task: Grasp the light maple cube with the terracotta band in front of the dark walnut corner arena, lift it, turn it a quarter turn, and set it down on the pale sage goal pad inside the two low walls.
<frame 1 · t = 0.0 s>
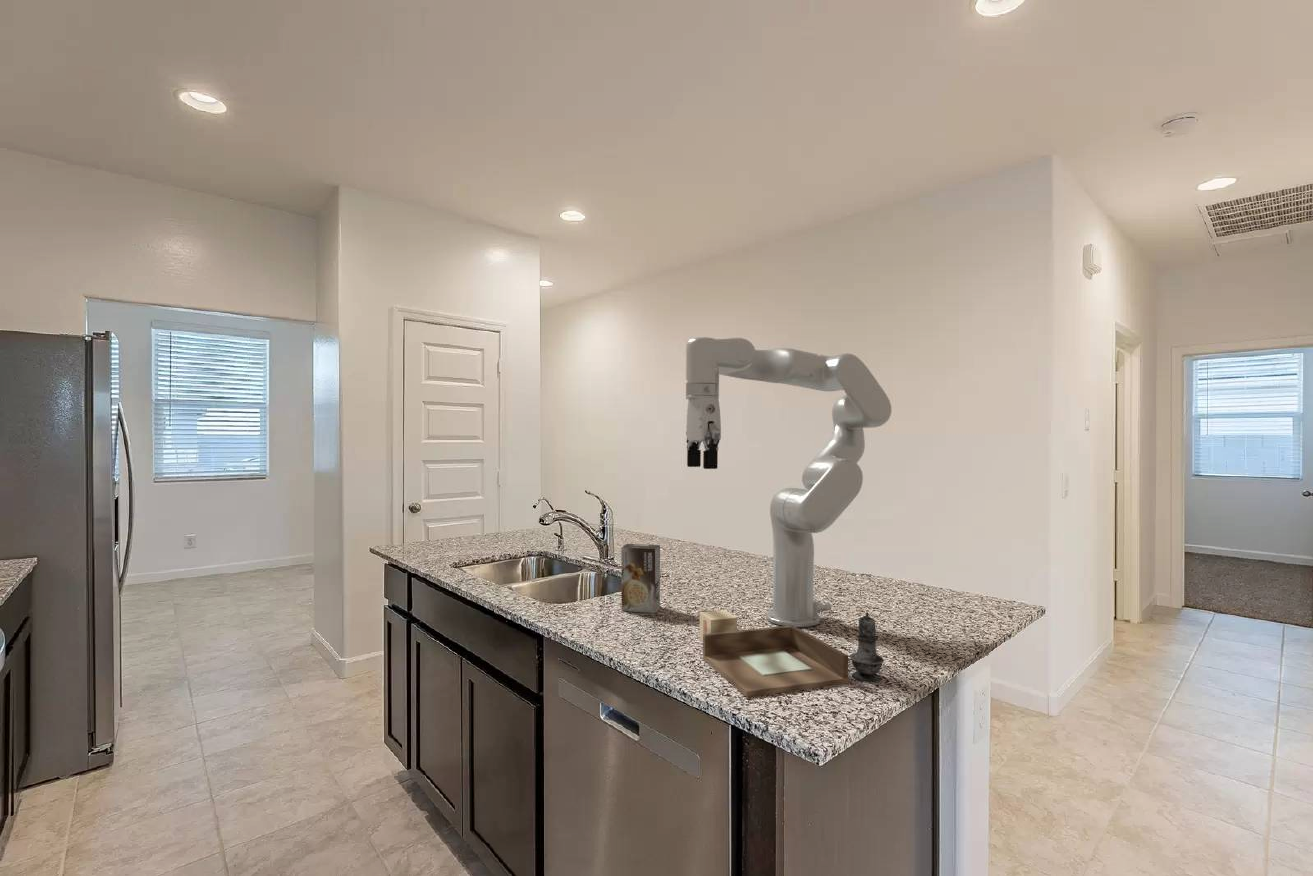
hand: (701, 467, 143), 37 cm above the worktop, tool pointing down, fingers open, 9 cm apart
maple cube: (717, 643, 134), on the worktop
arena: (771, 671, 118), on the worktop
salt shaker: (866, 678, 115), on the worktop
coffee box: (640, 609, 160), on the worktop
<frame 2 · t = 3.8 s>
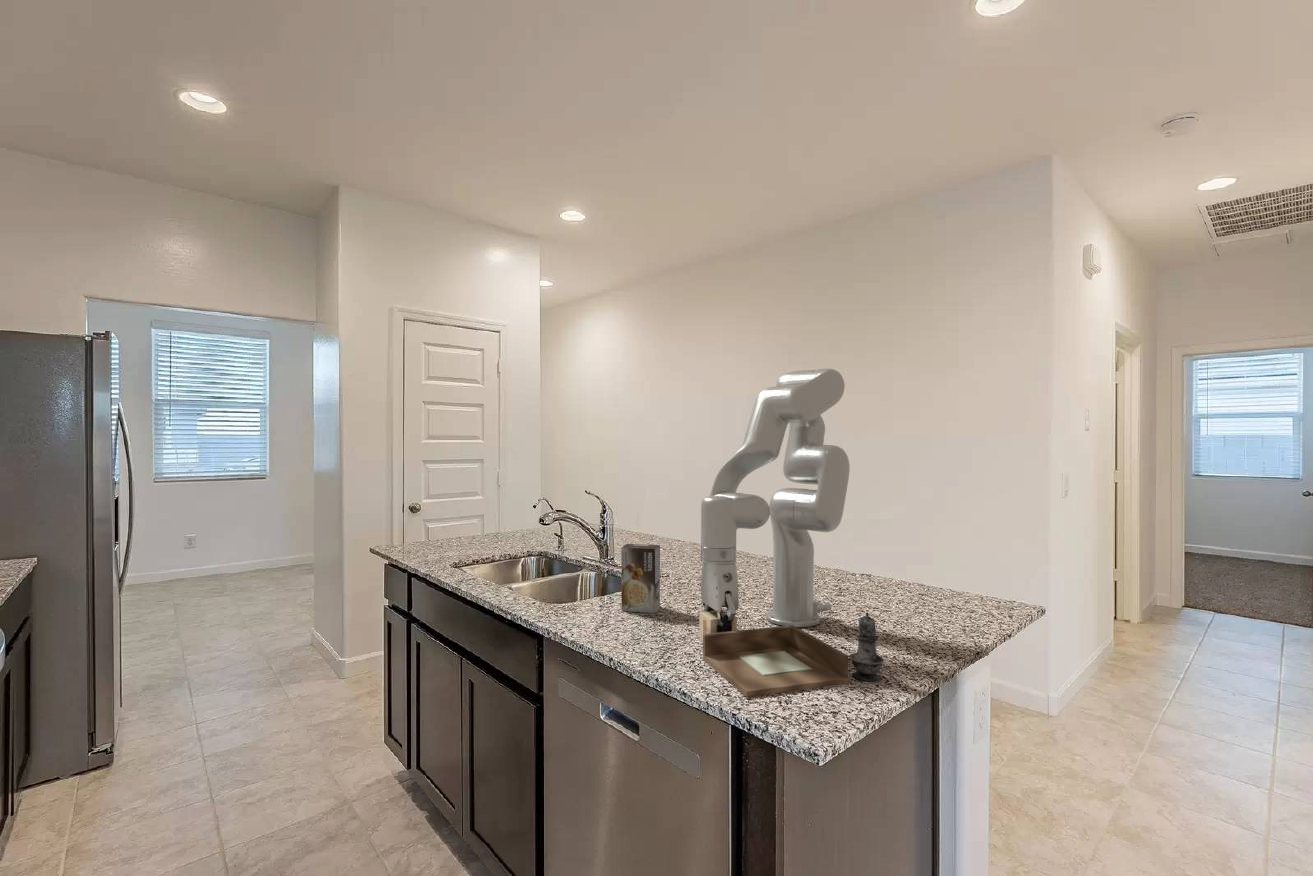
hand: (717, 638, 134), 1 cm above the worktop, tool pointing down, fingers closed on maple cube, 6 cm apart
maple cube: (717, 642, 134), on the worktop, touching gripper
everything else where it was.
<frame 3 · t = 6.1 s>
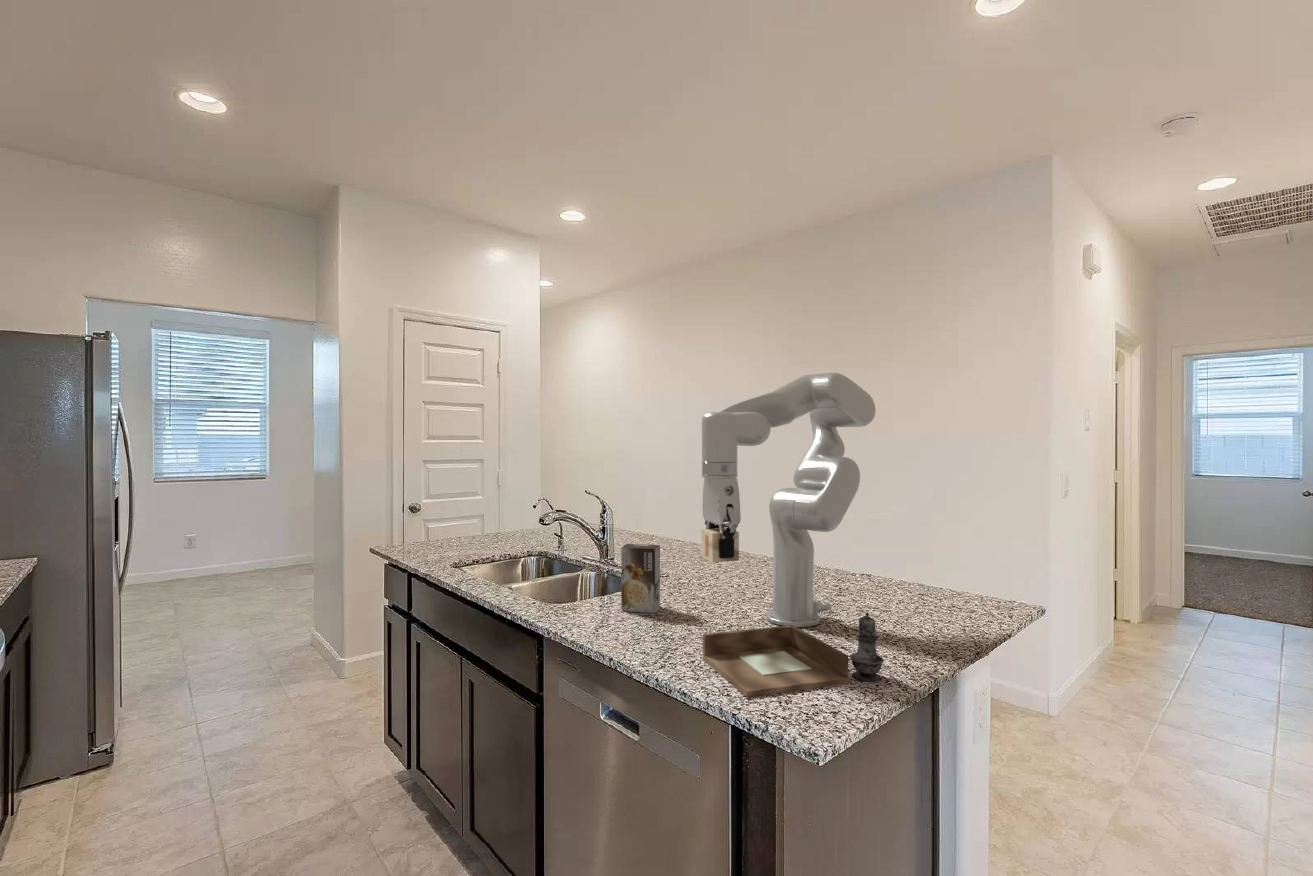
hand: (719, 554, 134), 19 cm above the worktop, tool pointing down, fingers closed on maple cube, 6 cm apart
maple cube: (719, 558, 134), point 18 cm above the worktop, touching gripper
everything else where it was.
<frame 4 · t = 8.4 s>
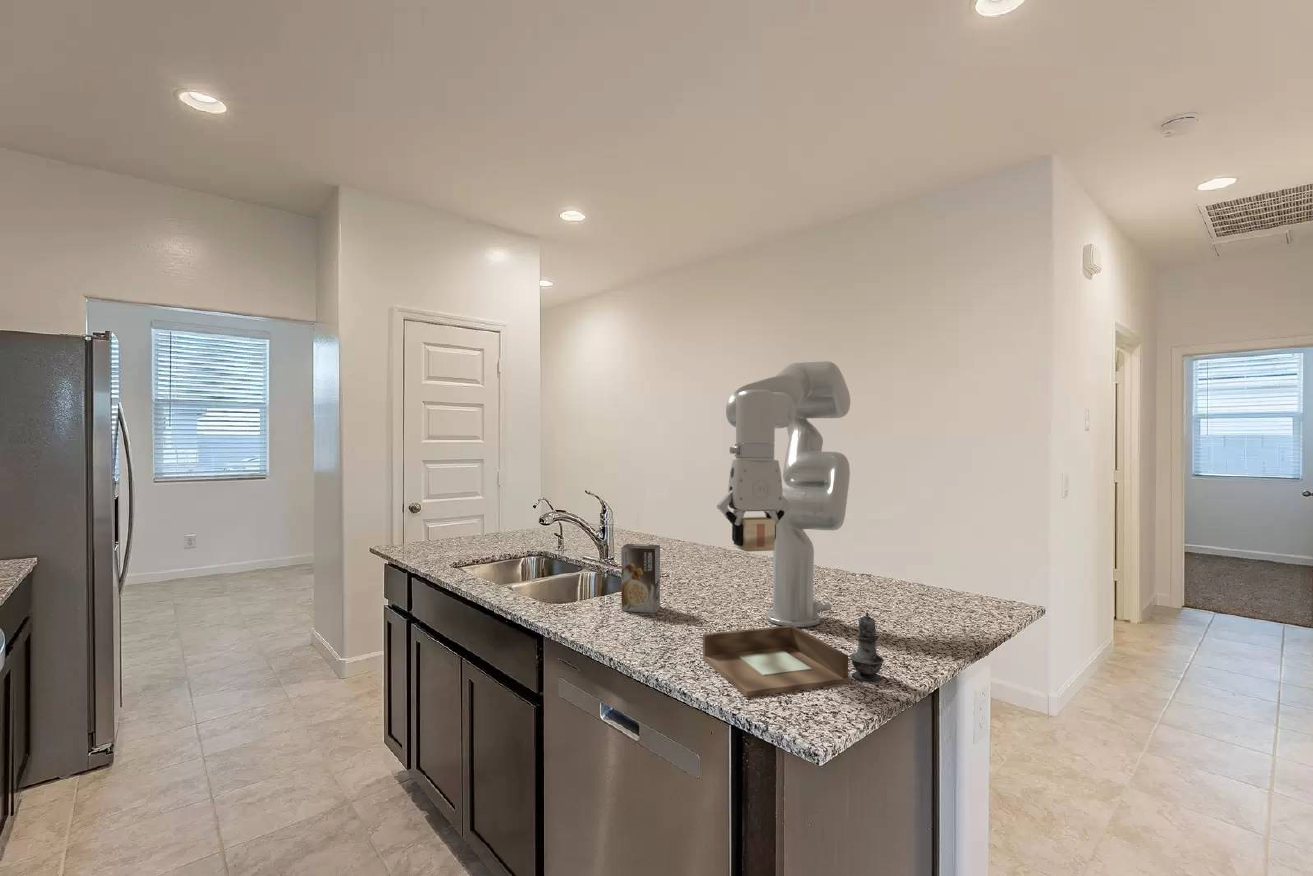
hand: (754, 543, 124), 23 cm above the worktop, tool pointing down, fingers closed on maple cube, 6 cm apart
maple cube: (753, 548, 124), point 22 cm above the worktop, touching gripper
everything else where it was.
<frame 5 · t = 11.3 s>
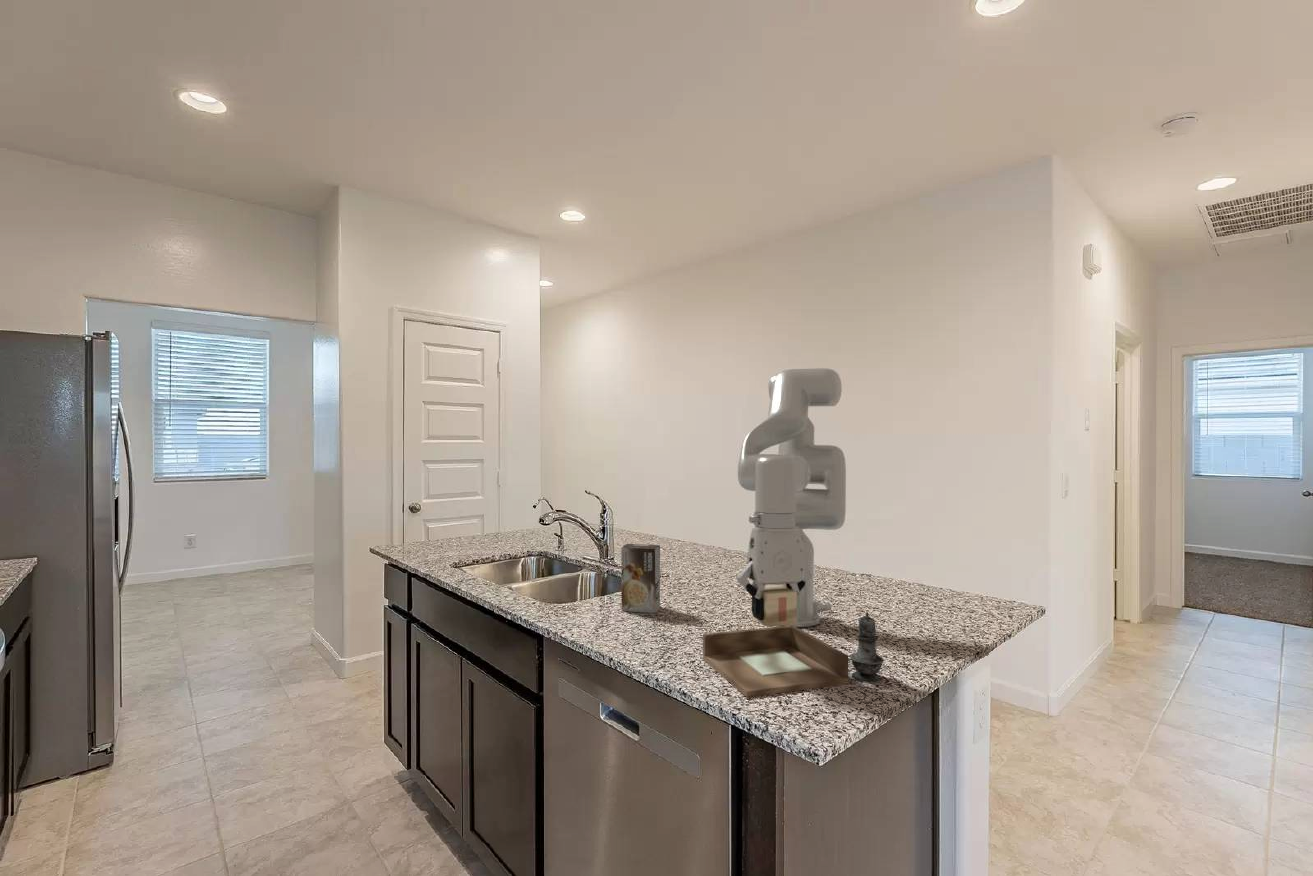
hand: (774, 616, 119), 10 cm above the worktop, tool pointing down, fingers closed on maple cube, 6 cm apart
maple cube: (774, 621, 119), point 9 cm above the worktop, touching gripper
everything else where it was.
when the fingers open (3 cm above the worktop, at t = 13.5 s): maple cube drops 1 cm, resting on arena.
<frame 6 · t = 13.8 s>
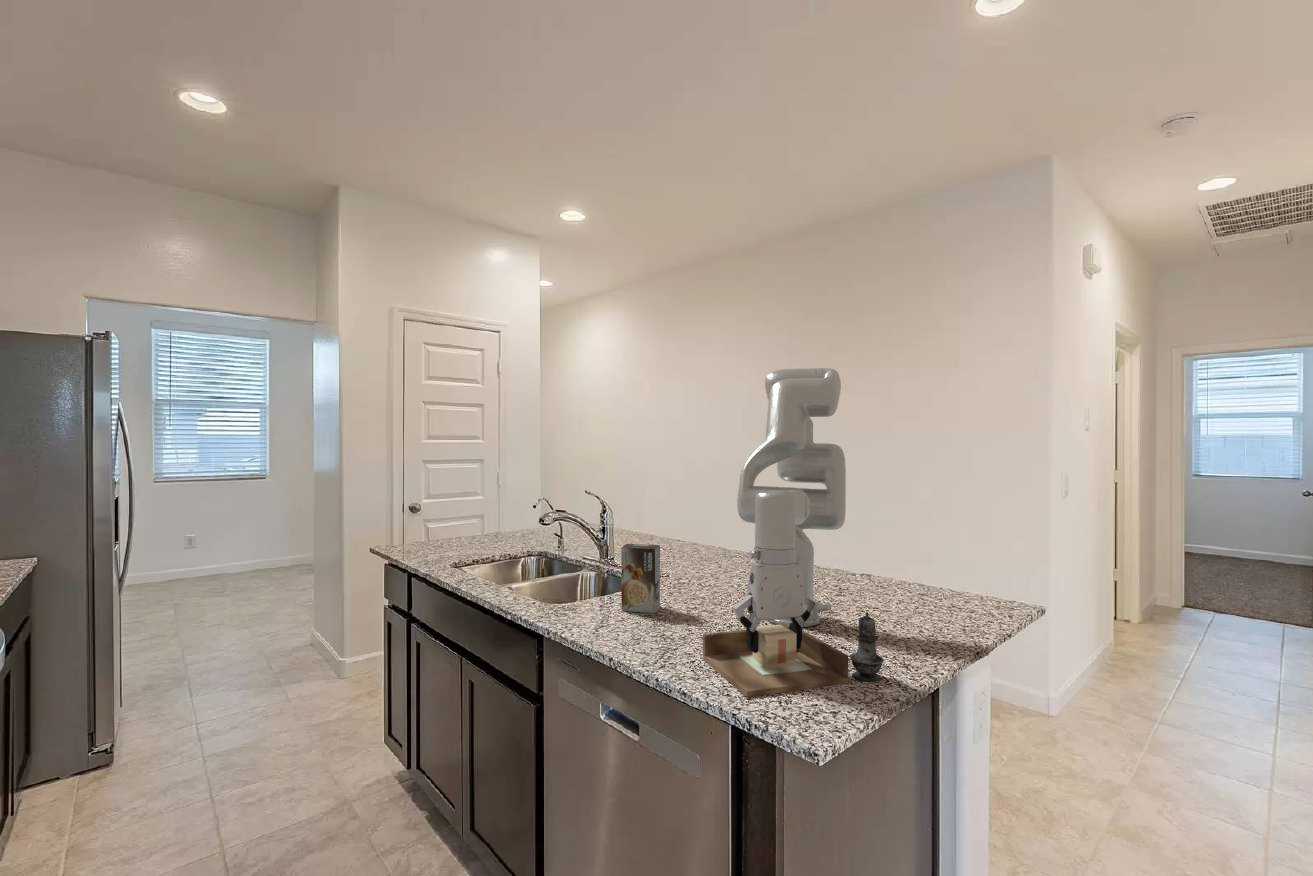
hand: (774, 648, 119), 4 cm above the worktop, tool pointing down, fingers open, 8 cm apart
maple cube: (774, 662, 119), point 1 cm above the worktop, touching arena
everything else where it was.
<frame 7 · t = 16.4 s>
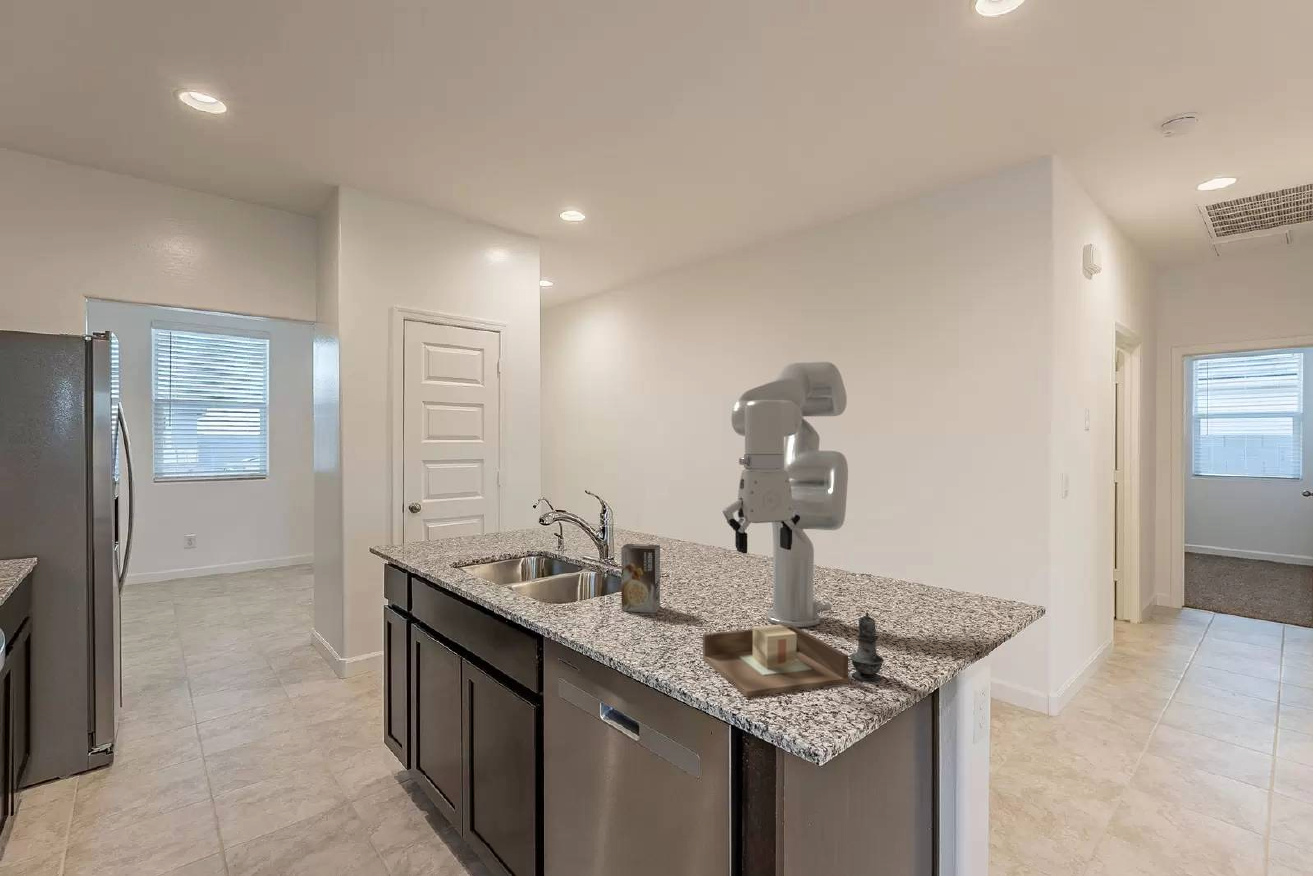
hand: (764, 550, 123), 22 cm above the worktop, tool pointing down, fingers open, 9 cm apart
nothing on the worktop moved.
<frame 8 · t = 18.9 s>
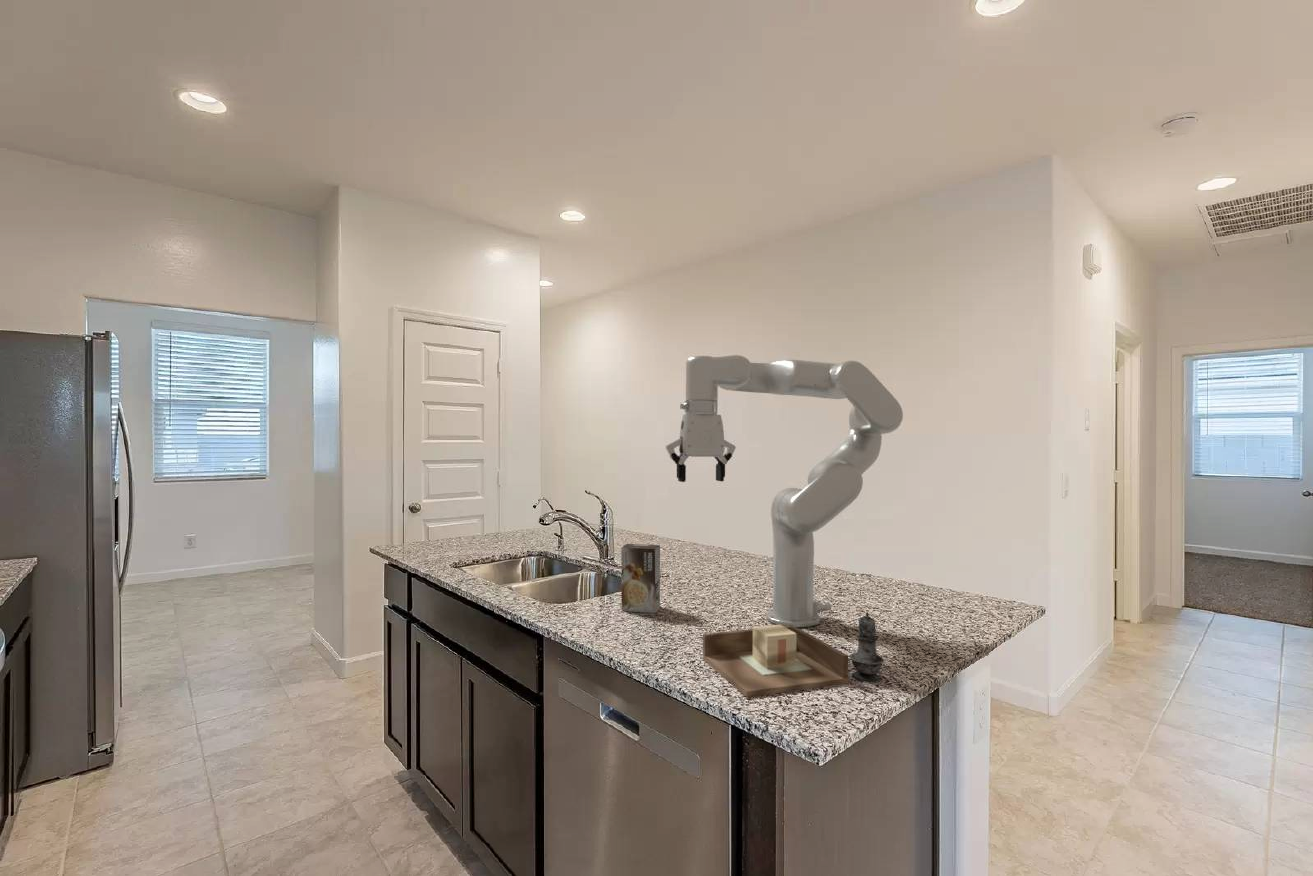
hand: (701, 481, 149), 33 cm above the worktop, tool pointing down, fingers open, 9 cm apart
nothing on the worktop moved.
at the end: maple cube 0.1 cm from the target spot on the arena, point 1.2 cm above the arena's base; maple cube tilted 0°; the gripper is holding nothing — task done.
